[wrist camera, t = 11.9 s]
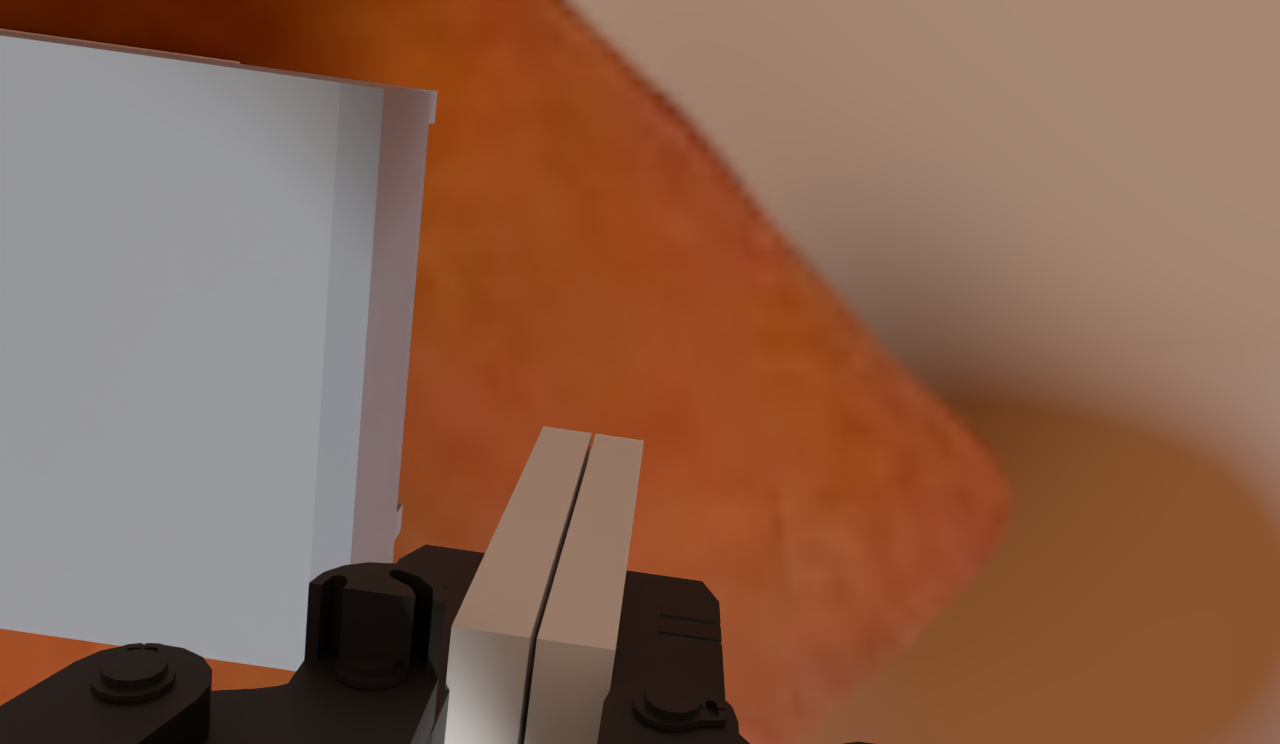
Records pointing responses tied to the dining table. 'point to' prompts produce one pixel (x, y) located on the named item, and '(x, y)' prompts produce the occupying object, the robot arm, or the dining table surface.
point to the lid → (198, 341)
